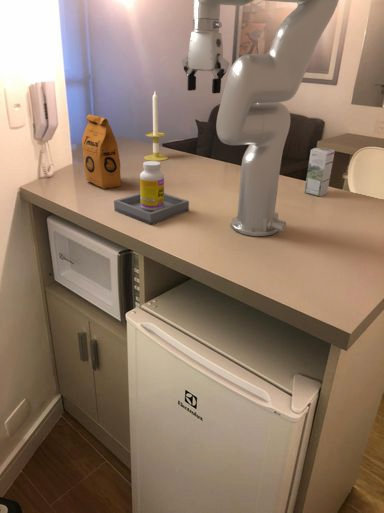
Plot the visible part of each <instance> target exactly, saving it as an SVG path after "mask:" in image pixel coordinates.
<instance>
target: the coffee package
mask: <svg viewBox="0 0 384 513" xmlns="http://www.w3.org/2000/svg"><path fill="white" fill-rule="evenodd" d="M86 120H87V121H88V123H87V125H86V127H85V130H84V132H83V134H82V135H83V136H82V138H81V143H82V144H81V146H82V156H83V168H84V173H85V176H84V177H85V181H87V182H89V183H92V184H93V185H94V186H97V187H99V188H101V189H103V190H106V189H112V188H117V187H121V186H122V181H121V180H122V179H121V178H122V177H121V160H120V154H119V148H118V144H117V140H116V137H115V135H114V132H113V130H112V128H111V125H110V123H109V121H108V119H107V118H104V117H102V116H97V115H94V114H88V115H87V116H86Z"/></svg>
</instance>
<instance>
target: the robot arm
mask: <svg viewBox="0 0 384 513" xmlns="http://www.w3.org/2000/svg"><path fill="white" fill-rule="evenodd" d="M192 1H193V3H192V7H193V8H192V31H191V33H190V38H189V43H188V44H189V45H188V55H186V56H185V57H184V58H183V59H182V60H181V63H182V67H183V70H184V73H185V76H186V77H187V91H189V92H190V91H196V90H197V76H196V74H197V72H198V71H202V72H204V71H205V72H211V73H212V76H213V77H214V78H212V85H211V93H212V94H215V95H216V94H220V93H221V90H222V89H221V88H222V79H223V78H224V76H225V74H226V73H227V70H228V68H229V67H230V61H228V60H227V59H226V58H224V44H223V43H224V42H223V35H222V32H220V28H222V26H223V24H222V22H221V21H220V18H221V17H220V14H221V5H222V6H223V5H224V6H233V7H236V6H237V7H239V6H240V7H241V6H245V5H248V4H250V3H251V2H253V1H255V0H192ZM264 1H265V2H266V1H267V2H280V3H295V4H296V3H297V6H296V8H294V10H292V12H290V13H289V14H288V15H287V16H286V17H285V19H284V20H283V21H282V22H281V23H280V25H279V26H278V29H277V30H276V33H275V35H274V39H273V41H272V45H271V46H270V49H269V50H268V51H267V52H265V53H248V54H243V55H241V56H239V57H238V58H237V59H236V60H234V62H233V64H232V65H231V67H230V69H229V72H228V74H227V79H226V82H225V85H224V90H223V92H222V93H223V94H222V97H221V100H220V101H221V102H220V104H219V109H218V112H217V116H216V124H215V126H216V134H217V137H218V139H219V140H220V142H221V143H223V144H225V145H229V146H245V145H248V147H247V148H246V150H245V152H244V154H243V156H242V160H241V165H240V166H241V169H240V182H239V191H238V192H239V193H238V205H237V215H236V216H235V217H233V218H232V219H231V221H230V227H231V229H233V231H236V232H237V233H240V234H243V235H245V236H246V235H247V236H252V237H266V236H271V235H273V234H276V233H277V232H282V233H283V232H285V231H286V228H287V226H286V225H287V221H285V220H281V219H279V218H278V217H279V212H276V204H277V196H278V188H279V181H280V171H281V165H282V158H283V157H282V156H283V151H284V147H285V144H286V140H287V137H288V134H289V131H290V126H291V114H290V110H289V109H288V107H287V106H285V104H283V102H286V101H287V102H288V101H290V100H292V99H293V98H294V97H295V95H297V92H298V91H299V88H300V86H301V83H302V81H303V79H304V77H305V74H306V71H307V69H308V67H309V64H310V62H311V60H312V57H313V55H314V52H315V49H316V47H317V45H318V43H319V40H320V39H321V36H322V35H323V33H324V31H325V30H326V28H327V27H328V25H329V23H330V21H331V19H332V17H333V15H334V13H335V11H336V9H337V7H338V4H339V2H340V0H264ZM281 102H282V103H281Z"/></svg>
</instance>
